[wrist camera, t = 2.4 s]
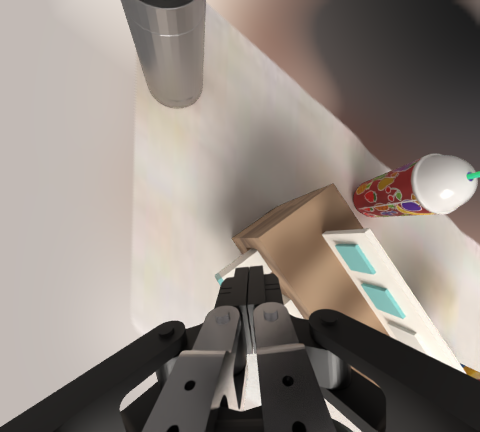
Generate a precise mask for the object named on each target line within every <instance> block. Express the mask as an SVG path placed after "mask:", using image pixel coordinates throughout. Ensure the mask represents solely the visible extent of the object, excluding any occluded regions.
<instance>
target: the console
mask: <svg viewBox="0 0 480 432" xmlns="http://www.w3.org/2000/svg"><path fill="white" fill-rule="evenodd" d="M354 229H363V227H362V226H361V224H360V223H359V221H358V220H357V218H356V217H355V215H354V214H353V212H352V211H351V209H350V208H349V206H348V205H347V203H346V202H345V200H344V199H343V197H342V196H341V194H340V193H339V191H338V190H337V188H336V187H335V185H334V184H331V185H328V186H326V187H323V188H321V189H318V190H316V191H313V192H311V193H309V194H306V195H304V196H301V197H299V198H296V199H294V200H291V201H289V202H287V203H284V204H282V205H279V206H277V207H276V208H274V209H273V210H271V211H270V212H268V213H267V214H266V215H264V216H263V217H261V218H260V219H259V220H257V221H256V222H254V223H253V224H251V225H250V226H249V227H247V228H246V229H244V230H243V231H242V232H240V233H239V234H237V235H236V236H235V237H233V238H232V240H233V241H234V243H235V244H236V246H237V247H238V249H239V250H240V251H241V253H242V254H244V253H246V252H247V251H249V250H250V249H251V248H253V249H257V250H258V252H259V253H260V255H261V256H262V258H263V259H264V261H265V262H266V264H267V265H268V267H269V268H270V270H271V271H272V272H271V273H270V274H272V273H274V274H275V275H276V276H277V277H278V278H279V283H280V289H281V293H282V294H283V295H285V296H286V297H288V298H289V299H291V300H292V302H293V303H294V305H295V306H296V308H297V309H298V311H299V312H300V314H301V315H302V317H303V318H304V319H308V320H309V316H310V315H311V313H313V312H314V311H316V310H320V309H332V310H336V311H339V312H341V313H343V314H345V315H347V316H349V317H351V318H353V319H355V320H357V321H359V322H361V323H363V324H365V325H367V326H369V327H371V328H374V329H376V330H378V331H380V332H382V333H384V334H386V335H388V336H390V335H389V334H388V332H387V331H386V329H385V328H384V326H383V325H382V323H381V322H380V320H379V319H378V318H377V316H376V315H375V313H374V312H373V310H372V309H371V307H370V306H369V304H368V303H367V301H366V300H365V298H364V297H363V295H362V294H361V292H360V291H359V289H358V288H357V286H356V285H355V283H354V282H353V280H352V279H351V277H350V276H349V274H348V273H347V271H346V270H345V268H344V267H343V265H342V264H341V262H340V261H339V260H338V258H337V257H336V255H335V254H334V252H333V251H332V249H331V248H330V246H329V245H328V243H327V242H326V240H325V239H324V237H323V236H322V234H323V233H324V232H326V231H338V230H354ZM351 368H352V369H353V370H355V371H356V372H358V373H359V374H361V375H362V376H363V377H365V378H366V379H368V380H369V381H371V382H372V383H374V384H375V385H377V384H376V383H375V382H374V381H373V380H371V379H370V378H368V377H367V376H365V375H364V374H362V373H361V372H359V371H358V370H356V369H355V368H353V367H352V366H351ZM377 386H378V385H377ZM378 387H379V386H378Z"/></svg>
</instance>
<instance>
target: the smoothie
mask: <svg viewBox="0 0 480 432" xmlns="http://www.w3.org/2000/svg"><path fill="white" fill-rule="evenodd" d="M478 177H480V172H476V171H475V169H474V168H473V167H472V166H471V165H470V164H469V163H468V162H466V161H465V160H463V159H461V158H457V157H454V156H450V155H441V154H429V155H427V156H424V157H422V158H420V159H418V160H416V161H413V162H411V163H409V164H406V165H404V166H402V167H400V168H397V169H395V170H392V171H390V172H388V173H385V174H383V175H381V176H378V177H376V178H374V179H371V180H369V181H367V182H364V183H363V184H361V185H360V186H359V187H358V188H357V190H356V191H355V193H354V197H353V201H354V205H355V207H356V209H357V210H358V211H359V212H360V213H362V214H364V215H366V216H368V217H388V216H409V215H431V214H449V213H451V212H452V211H454V210H456V209H457V208H458V207H459V206H461V205H462V204H464V203H466V202H467V201H468V200H469V199H470V198H471V197H472V195H473V194H474V192H475V191H476V188H477V185H478Z"/></svg>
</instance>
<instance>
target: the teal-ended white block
mask: <svg viewBox="0 0 480 432" xmlns="http://www.w3.org/2000/svg"><path fill="white" fill-rule="evenodd" d="M261 265H263V271H264V274H270V273H271V272H272V271H271V270H270V268H269V267H268V265H267V264H266V262H265V261H264V259H263V258H262V256H261V255H260V253H259V252H258V250H257V249H253V248H251V249H250V250H249V251H247V252H246V253H244V254H243V255H242V256H240V257H239V258H238V259H236V260H235V261H234V262H232V263H231V264H229V265H228V266H227V267H225V268H224V269H223V270H221V271H220V272H219V273H217V274H216V275H215V277H216V279H217V281H218V283H219V284H220V286H221V283H222V282H223V281H224V280H225V279H226V278H228V277H234V273H235V268H239V267H249V269H250V266H261Z"/></svg>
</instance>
